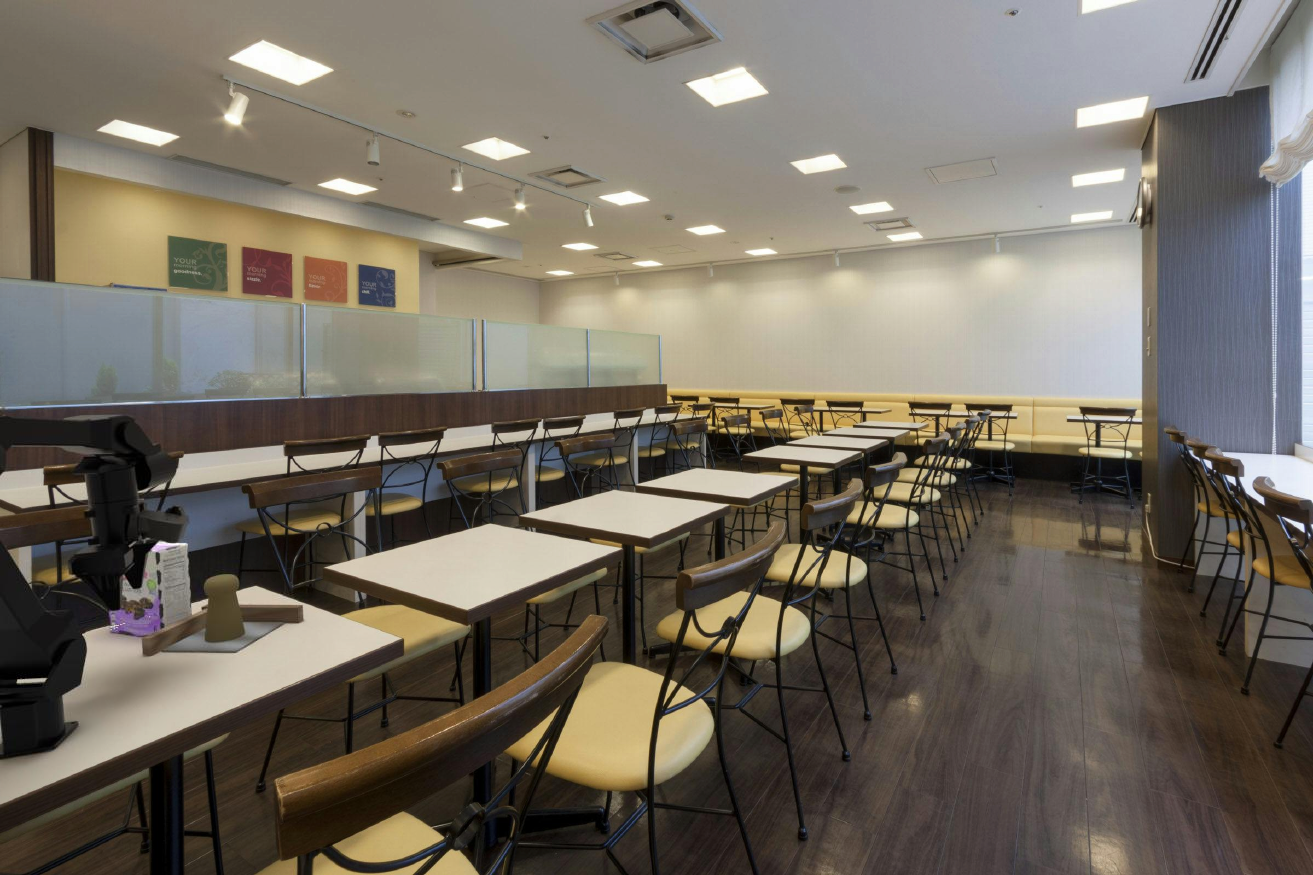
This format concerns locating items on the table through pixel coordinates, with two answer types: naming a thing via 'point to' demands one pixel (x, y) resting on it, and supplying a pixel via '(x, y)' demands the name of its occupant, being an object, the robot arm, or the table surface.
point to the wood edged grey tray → (192, 639)
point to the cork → (223, 609)
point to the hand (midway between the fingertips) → (127, 598)
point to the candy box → (156, 593)
